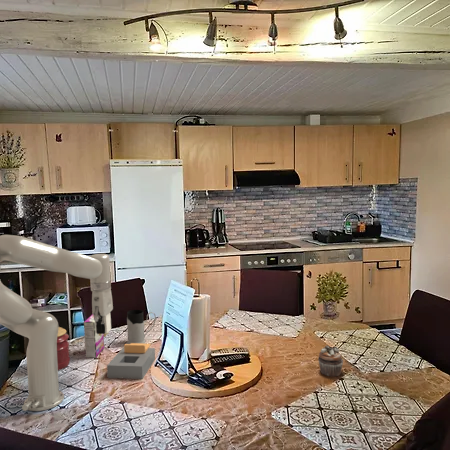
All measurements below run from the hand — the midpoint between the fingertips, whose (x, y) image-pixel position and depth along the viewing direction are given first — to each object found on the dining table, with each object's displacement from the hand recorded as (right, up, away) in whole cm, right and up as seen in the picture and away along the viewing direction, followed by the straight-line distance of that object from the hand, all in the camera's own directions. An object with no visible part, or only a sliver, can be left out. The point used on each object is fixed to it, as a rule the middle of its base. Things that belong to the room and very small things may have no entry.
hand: (103, 330), depth 158 cm
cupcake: (+90, -17, +1) cm, 91 cm away
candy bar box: (-11, -16, +22) cm, 30 cm away
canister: (-24, -17, +10) cm, 31 cm away
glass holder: (+8, -15, +36) cm, 39 cm away
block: (0, -2, 0) cm, 2 cm away
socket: (+10, -17, +6) cm, 21 cm away
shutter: (+11, -11, +13) cm, 20 cm away
